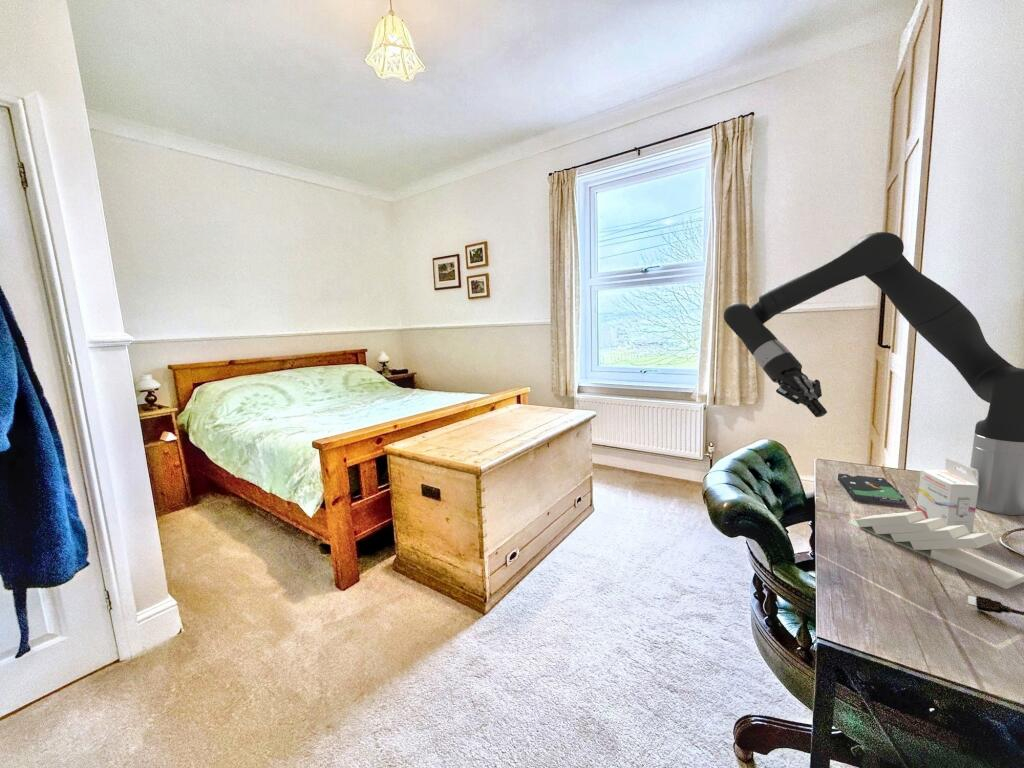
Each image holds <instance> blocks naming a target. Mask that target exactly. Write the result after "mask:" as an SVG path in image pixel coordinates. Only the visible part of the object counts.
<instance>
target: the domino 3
mask: <svg viewBox="0 0 1024 768" xmlns="http://www.w3.org/2000/svg"><path fill="white" fill-rule="evenodd" d="M968 534H970V533H969V531H968V529H967V527H966V526H965V525H955V526H946V527H943V528H939V529H936V530H933V531H926V532H908V533H892V534H891V536H892V538H893V540H894V542H905V541H925V540H946V539H955V538H958V537H961V536H965V535H968ZM894 542H893V543H894Z"/></svg>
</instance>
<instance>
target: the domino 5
mask: <svg viewBox="0 0 1024 768" xmlns="http://www.w3.org/2000/svg"><path fill="white" fill-rule="evenodd" d="M930 557H932V558H931V559H934V560H936V561H939V562H941V563H944V564H946V565H949V566H951V567H954V569H955V568H956V569H958V570H960V571H963V572H965V573H967V574H969V575H973V576H974V577H977V578H979V579H982V580H984V581H986V582H989V583H992V584H994V585H995V586H996V585H997V586H999V587H1000V588H1003V589H1005V590H1008V589H1011V588H1012V587H1015V586H1017V585H1020V584H1022V583H1024V574H1022V573H1019V572H1018V571H1015V570H1012V569H1010V568H1008V567H1005V566H1003V565H1000V564H998V563H995V562H993V561H991V560H989V559H986V558H983V557H982V556H979V555H977V554H974V553H972V552H969V551H966V550H965V549H964V550H963V548H958V549H932V551H931V556H930ZM930 557H929V558H930Z"/></svg>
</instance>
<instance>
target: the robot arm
mask: <svg viewBox="0 0 1024 768" xmlns="http://www.w3.org/2000/svg"><path fill="white" fill-rule="evenodd" d="M904 249H905V246H904V241H903V240H902V238H901V237H900V236H898V235H897V234H895V233H893V232H887V231H876V232H873V233H868V234H865V235H863V236H861V237H859V238H858V239H856V240H855V241H854V242H853V243H852V244H851V245H850V247H849V249H847V250H846V251H845V252H842V254H841V255H838V256H837V257H836V258H834V259H832V260H830V261H828V262H826V263H824V264H822V265H820V266H818V267H817V268H813V269H812V270H808V271H807V272H805V273H802V274H800V275H797V276H795V277H793V278H791V279H788V280H786V281H784V282H782V283H780V284H778V285H776V286H774V287H772V288H770V289H768V290H766V291H764V292H763V293H761V294H760V295H759V297H758V301H757V302H756V303H754V304H752V305H751V306H749V305H748V304H746V303H743V302H733V303H730V304H729V305H728V306H727V307H726V308H725V310H724V312H723V319H724V322H725V323H726V325H727V326H728V327H729V328H730V329H731V330H732V331H733V332H734V334H736V335H737V337H738V338H739V339H740V340H741V341H742V343H743V344H744V346H745V347H746V349H747V350H748V351H749V353H750V354H751V355H752V356H753V357H754V359H755V361H756V363H757V364H758V365H759V367H760V368H761V369H762V370H763V371H764V373H765V374H766V375H767V376H768V378H769V379H770V380H771V381H772V382H773V383H775V384H778V385H779V387H778V388H777V389H776V390H775V392H776V393H777V394H778V395H780V396H782V397H784V398H785V399H787V400H789V401H791V402H793V403H794V404H796V405H800V404H802V405H803V406H805V407H806V408H807V409H808V410H809V411H810V412H811V414H812V415H814V417H815V418H822V417H823V416H825V415H826V414H827V413H828V410H827V409H826V408H825V407H824V405H823V404H822V403H821V402H820V401H819V398H822V396H823V393H822V387H821V381H820V380H819V379H816V378H815V380H812V379H809V377H808V376H807V374H805V373H803V372H802V370H803V369H802V368H803V365H802V363H801V362H800V361H799V360H798V359H797V358H796V357H795V355H793V353H792V352H791V351H790V350H789V348H787V346H785V345H784V343H782V342H781V341H780V340H779V338H777V337H776V335H774V333H773V332H772V331H771V330H770V329H769V328H767V327H766V326H765V323H766V322H769V320H770V319H772V318H773V317H775V316H776V315H779V314H781V313H784V312H785V311H787V310H790V309H792V308H794V307H796V306H798V305H801V304H802V303H804V302H806V301H808V300H810V299H812V298H815V297H816V296H818V295H820V294H822V293H824V292H827V291H828V290H831V289H833V288H835V287H838V286H839V285H840V286H841V284H844V283H848V282H850V281H854V280H855V279H858V278H861V277H866V278H867V279H868V280H869V281H871V282H872V283H873V284H875V285H876V286H877V287H878V288H879V289H880V290H881V291H882V292H883V293H884V294H885V295H886V297H887V298H888V299H889V300H890V302H891V303H892V305H894V307H895V308H896V310H898V312H899V313H900V314H901V316H902V317H903V318H904V319H905V320H906V321H907V323H908V324H910V325H911V327H912V328H914V330H915V331H916V332H917V333H918V334H919V335H920V336H922V338H923V339H924V340H925V341H927V342H928V343H929V344H930V345H931V346H932V347H933V348H934V349H935V350H936V351H938V353H939V354H941V355H942V356H943V357H944V358H945V359H946V360H948V361H949V362H950V363H951V364H952V365H953V367H954V368H955V369H956V370H957V371H958V373H959V374H960V376H962V378H963V379H964V381H965V382H966V383H967V384H968V386H969V387H970V388H971V390H972V391H973V393H975V395H976V396H977V397H978V398H980V399H981V400H982V401H984V402H986V403H989V406H988V412H987V416H986V417H985V418H984V419H982V420H979V421H977V422H976V424H975V426H974V427H975V429H974V434H973V443H972V451H971V458H970V465H969V467H971V468H973V469H976V470H978V472H979V480H978V485H979V489H978V496H977V503H976V509H980V510H984V511H988V512H992V513H996V514H1002V515H1007V516H1009V515H1010V516H1023V515H1024V368H1021V367H1016V366H1014V365H1013V364H1011V363H1009V362H1008V361H1007V360H1006V359H1004V358H1003V357H1002V356H1001V355H1000V354H999V353H997V351H996V350H994V349H993V348H992V347H991V346H990V345H989V343H988V342H987V340H986V338H985V336H984V334H983V331H982V328H981V326H980V324H979V322H978V320H977V318H976V316H975V315H974V314H973V313H972V311H970V310H969V308H968V307H966V306H965V305H964V304H963V302H961V300H959V299H958V298H957V297H956V296H955V295H953V294H952V293H951V292H950V291H948V290H947V289H946V288H944V287H943V286H941V285H940V284H938V283H937V282H935V281H934V280H932V279H931V278H930V277H927V276H926V275H924V274H923V273H921V272H920V271H919V270H918V269H916V268H915V266H913V265H912V264H911V263H910V261H909V260H908V259H907V258H906V257H905V255H904V254H903V253H904Z"/></svg>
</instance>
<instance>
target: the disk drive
mask: <svg viewBox="0 0 1024 768" xmlns="http://www.w3.org/2000/svg"><path fill="white" fill-rule="evenodd" d="M837 481H838V482H839V483H840V485H841V486H842V487H843V489H844V490H845V491H846V493H847V494H848V495H849V497H850V498H851V499H852V501H854V502H861V503H869V504H870V503H871V504H878V505H886V506H893V507H894V506H895V507H903V508H907V505H908V502H907V500H906V498H905V496H904V495H903V494H901V493H900V492H899V490H897V489H896V488H895V487H894V486H893V485H892V484H891V483H890V482H889V481H888V480H887V479H886V478H885V477H876V476H875V477H874V476H867V475H855V476H851V475H849V474H848V473H847V474H846V473H838V474H837Z"/></svg>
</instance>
